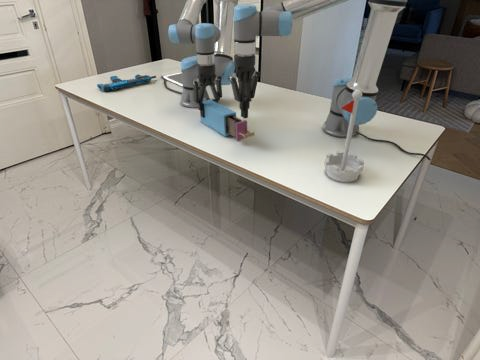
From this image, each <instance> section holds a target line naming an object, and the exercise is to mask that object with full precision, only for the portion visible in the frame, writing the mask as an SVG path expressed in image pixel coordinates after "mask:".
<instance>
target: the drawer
mask: <svg viewBox="0 0 480 360" xmlns="http://www.w3.org/2000/svg"><path fill="white" fill-rule="evenodd" d="M226 132H227V133H229V134H230V135H229V136H232V137H234V138H235V141H237V142H238V141H242V140H245V139H248V138H250V137H255V132H254V131H249V130H248V121H247V119H244V120H242V119H241V118H239V117H237V116H236V117H235V116H233V115H231V116H227V117H226Z"/></svg>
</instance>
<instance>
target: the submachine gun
mask: <svg viewBox="0 0 480 360" xmlns="http://www.w3.org/2000/svg"><path fill="white" fill-rule="evenodd" d="M109 79H110V80H111V81H112V82H109V83H105V84H103V83H97V84H96V87H97V88H98V89H99V90H101V91H102V92H106V91H107V92H109V91H117V89H122V88H127V87H131V86H134V85H135V86H136V85H140V84H144V83H145V84H146V83H150V81H152V80H153V79H157V75H152V76H151V75H147V74H144V75H141V74H136V75H134V78H130V79H121V78H119V77H118V75H112V76H110V78H109Z"/></svg>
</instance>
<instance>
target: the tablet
mask: <svg viewBox="0 0 480 360" xmlns="http://www.w3.org/2000/svg"><path fill="white" fill-rule="evenodd" d="M162 76H163V77H164V78H165V81H167V82H170V83H173V84H175V85H177V86H179V87H181V88H183V81H182V72H177V73H172V74H167V75H162ZM160 78H161V79H163V78H162V77H161V76H160Z"/></svg>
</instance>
